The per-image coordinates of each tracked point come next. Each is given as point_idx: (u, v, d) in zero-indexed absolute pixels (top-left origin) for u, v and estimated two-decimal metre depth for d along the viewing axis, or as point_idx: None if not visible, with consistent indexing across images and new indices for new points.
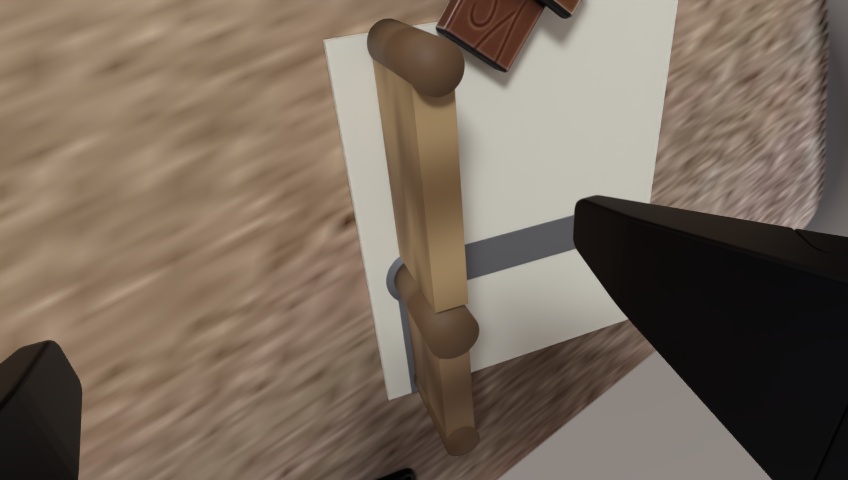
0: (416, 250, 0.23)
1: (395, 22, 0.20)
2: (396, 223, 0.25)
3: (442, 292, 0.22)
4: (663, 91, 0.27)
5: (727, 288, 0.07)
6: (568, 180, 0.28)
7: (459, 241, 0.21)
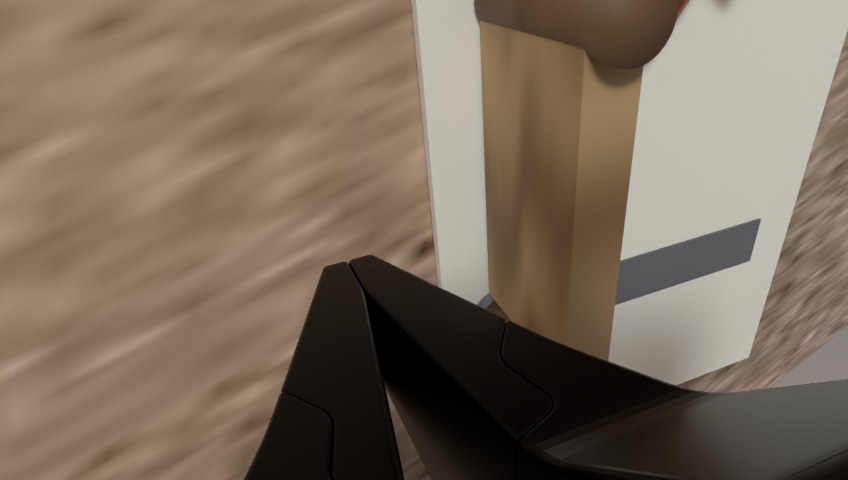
0: (533, 294, 0.16)
1: None
2: (490, 251, 0.18)
3: None
4: (831, 75, 0.21)
5: (428, 389, 0.06)
6: (702, 191, 0.21)
7: (610, 287, 0.14)
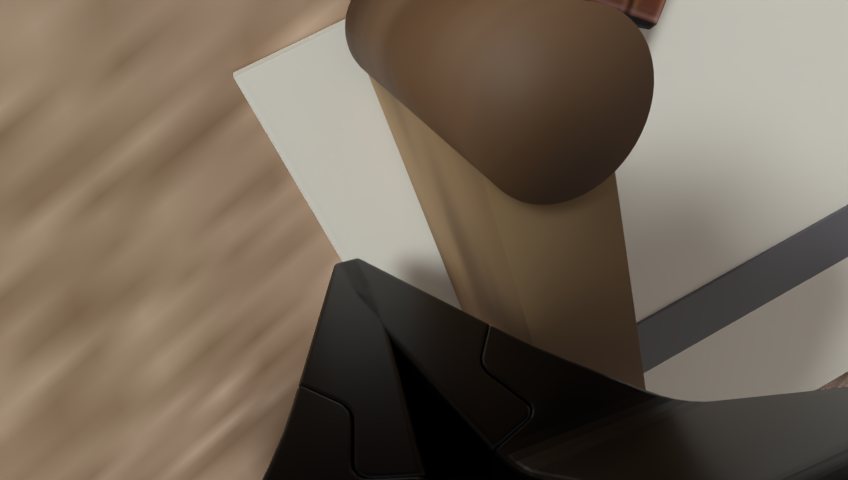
0: None
1: None
2: None
3: None
4: None
5: (411, 396, 0.06)
6: (776, 186, 0.15)
7: None
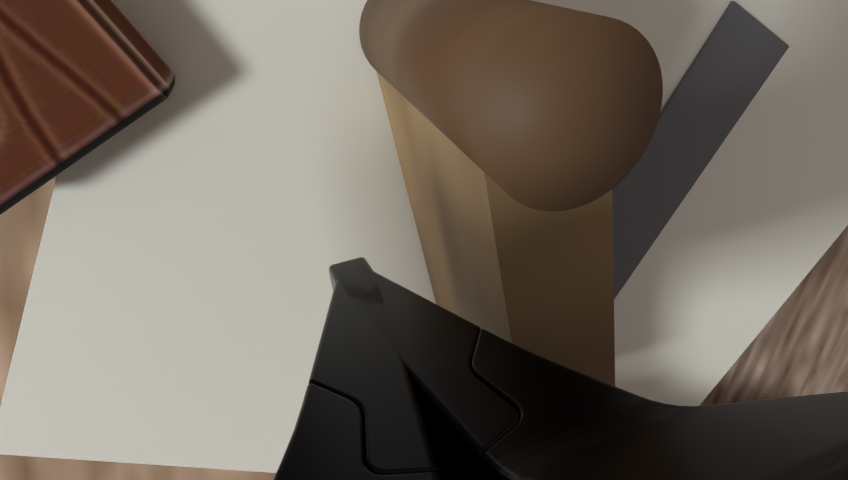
0: None
1: None
2: None
3: None
4: None
5: None
6: None
7: None
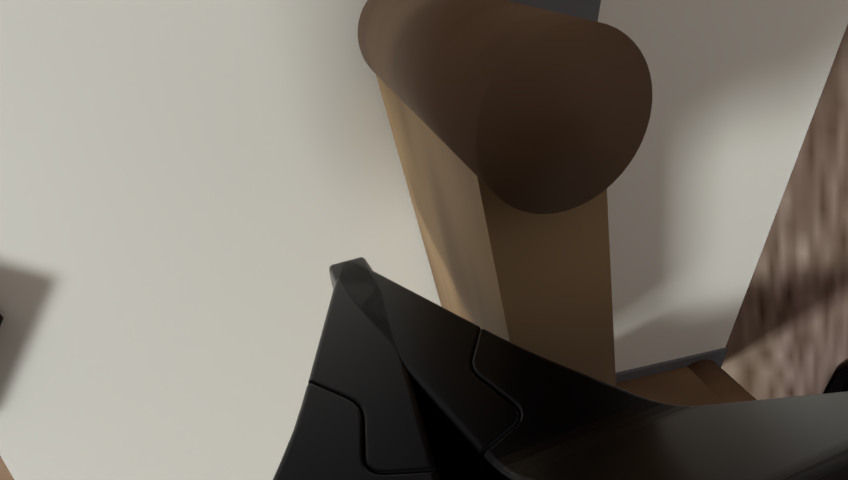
0: None
1: None
2: None
3: None
4: None
5: None
6: (385, 153, 0.11)
7: None
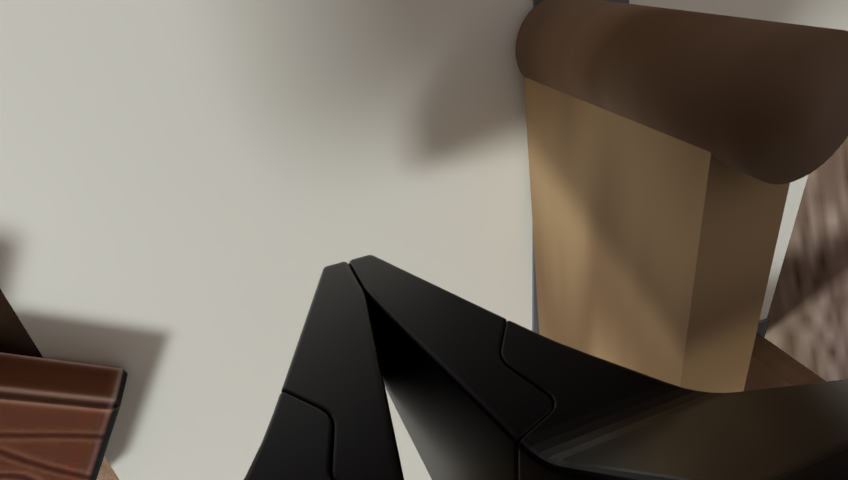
0: None
1: (593, 1, 0.09)
2: None
3: None
4: None
5: (428, 389, 0.06)
6: (444, 185, 0.12)
7: None
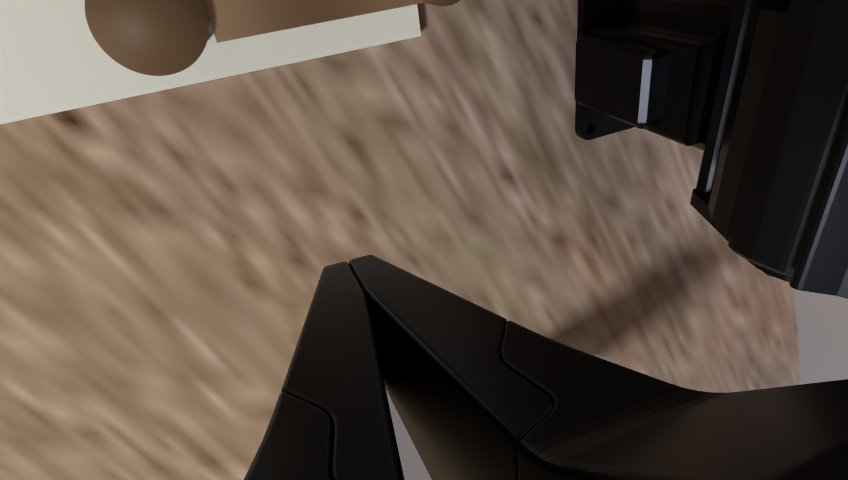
0: None
1: None
2: None
3: None
4: None
5: (429, 390, 0.06)
6: None
7: None
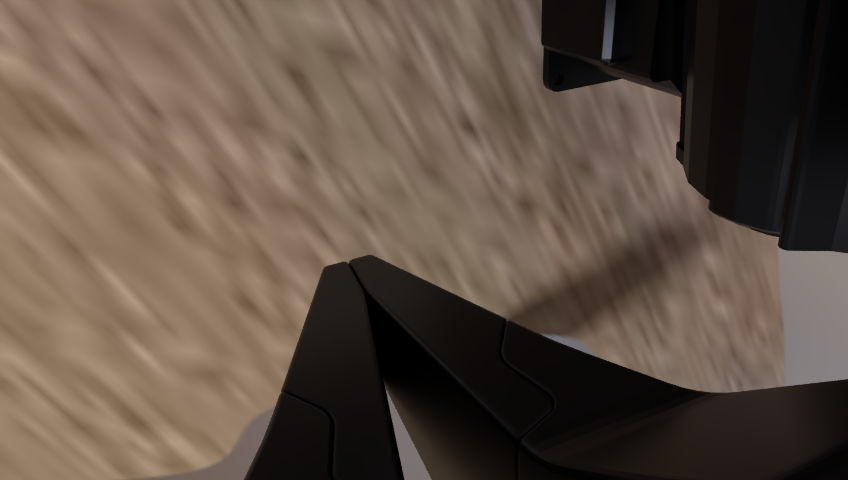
0: None
1: None
2: None
3: None
4: None
5: (428, 390, 0.06)
6: None
7: None
